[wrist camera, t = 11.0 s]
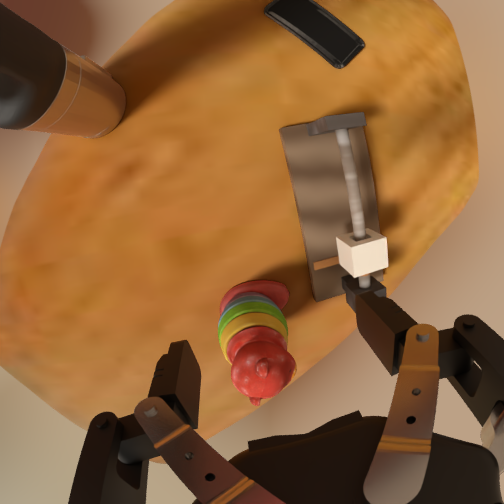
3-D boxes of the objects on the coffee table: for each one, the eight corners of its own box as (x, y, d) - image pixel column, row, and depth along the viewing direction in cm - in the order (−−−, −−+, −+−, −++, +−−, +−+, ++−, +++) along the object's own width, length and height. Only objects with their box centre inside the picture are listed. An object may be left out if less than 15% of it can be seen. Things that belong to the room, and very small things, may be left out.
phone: (340, 70, 33) (261, 9, 29) (338, 72, 34) (260, 13, 30) (367, 43, 31) (293, -14, 28) (364, 46, 33) (291, -11, 29)
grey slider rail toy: (278, 129, 36) (294, 118, 27) (355, 117, 36) (388, 108, 27) (313, 297, 44) (332, 328, 35) (379, 277, 44) (408, 301, 35)
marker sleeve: (335, 236, 36) (351, 247, 32) (368, 228, 36) (386, 237, 32) (339, 264, 38) (354, 277, 33) (370, 254, 38) (388, 266, 33)
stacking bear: (272, 341, 46) (294, 422, 29) (212, 331, 44) (209, 415, 27) (292, 284, 43) (329, 355, 26) (226, 271, 41) (228, 342, 24)
